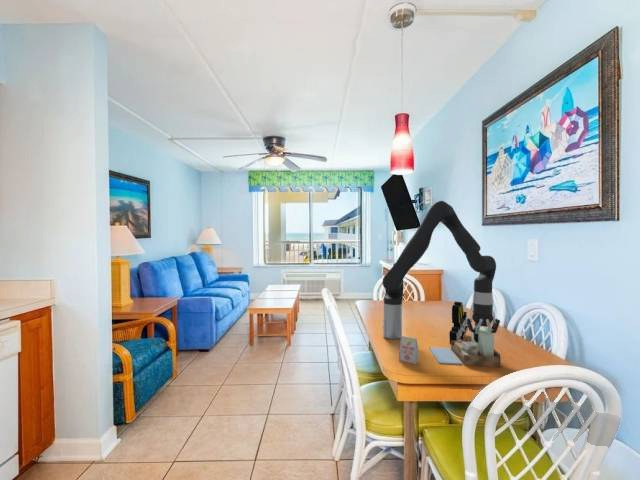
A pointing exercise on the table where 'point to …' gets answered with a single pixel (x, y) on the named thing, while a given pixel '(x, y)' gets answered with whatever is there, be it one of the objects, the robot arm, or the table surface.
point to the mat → (445, 356)
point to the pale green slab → (484, 341)
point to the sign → (458, 322)
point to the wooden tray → (477, 357)
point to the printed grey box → (408, 350)
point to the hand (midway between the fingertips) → (482, 342)
